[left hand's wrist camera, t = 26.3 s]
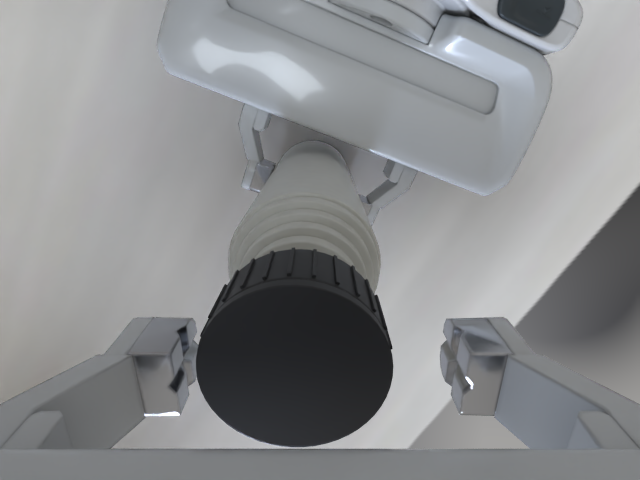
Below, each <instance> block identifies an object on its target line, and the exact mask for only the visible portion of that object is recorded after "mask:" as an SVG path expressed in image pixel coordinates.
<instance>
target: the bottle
mask: <svg viewBox="0 0 640 480" xmlns="http://www.w3.org/2000/svg"><path fill="white" fill-rule="evenodd" d="M294 247H295V249H305V250H306V249H307V250H313V249H317V251H318V252H322V253H326V254H328V255H331V256H334V255H336V256H337V258H338V259H340V260H342V261H344V262H345V263H347V264H348V265H350V266H352V265H353V266H354V267H355V270H356V271H357V272H358V273H359V274H361V276H362V277H363V278H364V279H365V280H366V279H368V281H369V284H370V287H371V289H372V291H373V293H375V290H376V287H377V283H378V279H379V274H380V265H381V262H380V251H379V246H378V243H377V240H376V237H375V235H374V232H373V230H372V227H371V225H370V222H369V220H368V217H367V215H366V212H365V210H364V207H363V205H362V202H361V200H360V197H359V195H358V192H357V190H356V187H355V185H354V182H353V180H352V177H351V175H350V172H349V170H348V167H347V165H346V162H345V160H344V158H343V157H342V155H341V154H340V153H339V152H338V151H337V150H336V149H335V148H334V147H332V146H331V145H329V144H327V143H324V142H321V141H305V142H301V143H298V144H296V145H294V146H293V147H291V148H290V149H289V150H288V151H287V152H286V153H285V154H284V155H283V157H282V158H281V160H280V161H279V163H278V165H277V166H276V168H275V169H274V171H273V172H272V174H271V176H270V177H269V179H268V180H267V182H266V183H265V185H264V186H263V188H262V190H261V191H260V193H259V194H258V196H257V197H256V199H255V201H254V202H253V204H252V205H251V207H250V208H249V210H248V211H247V213H246V215H245V216H244V218H243V219H242V221H241V222H240V224H239V226H238V227H237V229H236V231H235V233H234V235H233V238H232V240H231V244H230V248H229V256H228V270H229V279H230V281H231V279H232V277H233V275H234V273H235V271H236V270H239V271H240V270H241V269H242V268H243V267H245V266H246V265H247V264H248V263H250V261H251V259H253V258H254V259H257V258H259V257H262V256H264V255H267V254H269V253H270V251H273V250H274V252H277V251H282V250H289V249H292V248H294Z"/></svg>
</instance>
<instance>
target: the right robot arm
mask: <svg viewBox="0 0 640 480" xmlns="http://www.w3.org/2000/svg"><path fill="white" fill-rule="evenodd" d="M582 18H583V10H582V7H581V4H580V3H579V1H578V0H168V2H167V5H166V8H165V12H164V15H163V19H162V23H161V26H160V30H159V34H158V39H157V51H158V54H159V56H160V58H161V61H162V63H163V65H164V67H165V70H166V71H167V72H168V73H169V74H171V75H173V76H176V77H178V78H181V79H183V80H186V81H189V82H191V83H194V84H196V85H199V86H201V87H204V88H207V89H209V90H212V91H214V92H217V93H219V94H222V95H225V96H227V97H230V98H232V99H235V100H237V101H240V102H243V103H244V106H243V109H242V113H241V116H240V120H239V123H238V124H239V129H240V133H241V137H242V141H243V145H244V149H245V153H246V157H247V159H249V161H248V164H247V168H246V171H245V174H244V177H243V181H242V185H241V187H243V188H245V189H248V190H251V191H254V192H257V193H260V191H261V190H262V188H263V186H264V185H265V183H266V182H267V180H268V179H269V177H270V176H271V174H272V172H273V171H274V169H275V166H276V163H273V162H271V161H268V160H266V159H264V155H263V150H262V145H261V140H260V135H259V131H260V132H261V131H263V130H265V129H266V128H267V127H268V125H269V122H270V119H271V116H272V114H274V115H276V116H279V117H281V118H284V119H286V120H289V121H292V122H294V123H297V124H299V125H302V126H304V127H307V128H310V129H312V130H315V131H317V132H320V133H322V134H325V135H328V136H330V137H333V138H335V139H338V140H340V141H343V142H346V143H348V144H351V145H353V146H356V147H358V148H361V149H364V150H366V151H369V152H371V153H374V154H376V155H379V156H382V157H384V158H387V159H388V161H387V164H386V166H385V168H384V171H383V172H384V174H385V176H386V177H387V178H388V180H386V181H385V182H384V183H383V184H381V185H380V186H379V187H378V188H376V189H375V190H374V191H373V192H371V193H370V194H369V195H368V196H367V197H365V196H363V195H360V194H358V195H359V197H360V200H361V202H362V205H363V207H364V210H365V212H366V215H367V217H368V220H369V222H370V225H371V227H372V224H373V222H374V220H375V218H376V216H377V213H378V211H379V209H380V208H381V209H382V208H384V207H385V206H386V205H388V204H389V203H390V202H392V201H393V200H395V199H396V198H397V197H399V196H400V195H402V194H403V193H404V192H406V191H407V190H409V188H410V186H411V184H412V182H413V180H414V178H415V176H416V174H417V172H418V171H420V172H423V173H425V174H428V175H431V176H433V177H436V178H438V179H441V180H443V181H446V182H449V183H451V184H454V185H456V186H459V187H461V188H464V189H467V190H469V191H472V192H474V193H477V194H480V195H482V196H487V195H489V194H492V193H494V192H495V191H497V190H499V189H501V188H502V187H504V186H505V185H507V184H508V182H509V181H510V180H511V178H512V177H513V175H514V174H515V172H516V170H517V168H518V166H519V165H520V163H521V161H522V159H523V157H524V155H525V153H526V151H527V149H528V147H529V145H530V143H531V141H532V139H533V137H534V135H535V133H536V130H537V128H538V126H539V124H540V121H541V119H542V117H543V114H544V112H545V109H546V107H547V104H548V101H549V98H550V94H551V89H552V72H551V68H550V65H549V63H548V62H547V60H546V59H545V57H544V56H543V55H547V54H550V53H553V52H557V51H559V50H562V49H563V48H565V47H566V46H567V45H568V44H569V43H570V41H571V40H572V38H573V37H574V35H575V33H576V32H577V29H578V28H579V26H580V24H581V21H582Z"/></svg>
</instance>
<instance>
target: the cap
mask: <svg viewBox="0 0 640 480" xmlns="http://www.w3.org/2000/svg"><path fill="white" fill-rule="evenodd" d="M208 318H209V319H208V321H207V323H206V325H205V327H204V329H203V331H202V333H201V335H200V337H201V339H200V342H199V345H198V349H197V355H196V373H197V379H198V383H199V386H200V389H201V391H202V394H203V396H204V398H205V400H206V401H207V403H208V404H209V406H210V407H211V409H212V410H213V411H214V412H215V413H216V414H217V415H218V416H219V418H221V419H222V420H223V421H224V422H225V423H226V424H227V425H229V426H230V427H232V428H233V429H235V430H236V431H238V432H240V433H242V434H243V435H245V436H247V437H250V438H252V439H255V440H257V441H260V442H264V443H267V444H271V445H277V446H284V447H309V446H317V445H321V444H326V443H329V442H333V441H336V440H339V439H341V438H343V437H345V436H347V435H349V434H351V433H353V432H354V431H356V430H358V429H359V428H360V427H362V426H363V425H364V424H366V423H367V422H368V421H369V420H370V419H371V418H372V417H373V416H374V415H375V414H376V412H377V411H378V410H379V408H380V407H381V406H382V404H383V402H384V400H385V399H386V397H387V394H388V392H389V389H390V386H391V381H392V377H393V359H392V353H391V349H392V344H391V341H390V337H389V334H388V331H387V326H386V323H385V319H384V316H383V312H382V309H381V305H380V302H379V299H378V296H377V295H374V293H373V291H372V289H371V287H370V284H369V281H368V279H366V280H365V279H364V278H363V277H362V276H361V274H359V273H358V272H357V271H356V270H355V267H354V266H353V265H352V266H350V265H348V264H347V263H345V262H344V261H342V260H340V259H338V258H337V256H336V255H334V256H331V255H328V254H326V253H322V252H318V251H317V249H313V250H307V249H306V250H305V249H295V247H294V248H292V249H289V250H282V251H277V252H274V250H273V251H270V253H269V254H267V255H264V256H262V257H259V258H257V259H254V258H253V259H251V261H250V263H248V264H247V265H246V266H245V267H243V268H242V269H241V270H240V271H239V270H236V271H235V273H234V275H233V277H232V279H231V281H230V282H229V283H228V285H226V284H225V285H224V287H223V289H222V291H221V293H220V295H219V297H218V299H217V301H216V302H215V304H214V306H213V308H212V310H211V312H210V314H209V316H208Z"/></svg>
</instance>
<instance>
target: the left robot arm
mask: <svg viewBox="0 0 640 480" xmlns="http://www.w3.org/2000/svg"><path fill="white" fill-rule="evenodd" d="M196 333H197V329H196V323H195V321H194V319H193V318H165V317H156V318H155V317H137V318H134V319H133V320H132V321H131V322H130V323H129V324H128V326H127V327H126V328H125V329H124V330H123V332H122V333H121V334H120V335H119V337H118V338H117V339H116V340H115V342H114V343H113V344H112V345H111V346H110V348H109V349H108V350H107V351H106V353H105V354H104V355H96V356H94V357H92V358H90V359H88V360H86V361H84V362H82V363H80V364H78V365H76V366H74V367H72V368H71V369H69V370H67V371H65V372H63V373H61V374H59V375H57V376H55V377H53V378H51V379H49V380H47V381H45V382H43V383H41V384H39V385H37V386H35V387H33V388H31V389H29V390H27V391H25V392H23V393H21V394H19V395H17V396H15V397H13V398H11V399H9V400H7V401H5V402H4V403H2V404H0V480H640V404H638V403H636V402H634V401H632V400H630V399H628V398H626V397H624V396H622V395H620V394H619V393H616V392H615V391H613V390H611V389H609V388H607V387H605V386H603V385H601V384H599V383H597V382H595V381H593V380H591V379H589V378H587V377H585V376H583V375H581V374H579V373H577V372H575V371H573V370H571V369H569V368H567V367H565V366H564V365H562V364H560V363H558V362H556V361H554V360H552V359H550V358H548V357H546V356H544V355H536V354H535V353H534V351H533V350H532V349H531V348H530V346H529V345H528V344H527V343H526V342H525V340H524V339H523V338H522V337H521V335H520V334H519V333H518V332H517V331H516V329H515V328H514V327H513V326H512V324H511V323H510V322H509V321H508V320H507V319H506V318H504V317H487V318H454V319H446V321H445V323H444V329H443V333H444V335H445V337H446V339H447V340H446V341H445V342H444V343H443V344H442V345H441V351H440V365H441V371H442V375H443V377H444V380H445V382H446V383H448V384H449V385H451V386H452V390H451V396H452V398H453V401H454V403H455V405H456V408H457V410H458V412H459V414H460V415H482V416H495V418H496V419H497V420H498V421H499V422H500V423H501V424H502V425H504V426H505V427H506V428H507V429H508V430H509V431H510V432H512V433H513V434H514V435H515V436H516V437H517V438H518V439H520V440H521V441H522V442H523V443H524V444H525V445H526V446H528V447H529V448H530V449H110V448H111V447H112V446H114V445H115V444H116V443H117V442H118V441H119V440H121V439H122V438H123V437H124V436H125V435H126V434H127V433H129V432H130V431H131V430H132V429H133V428H134V427H135V426H137V425H138V424H139V423H140V422H141V421H142V420H143V419H145V416H158V415H181V412H182V410H183V408H184V405H185V403H186V401H187V398H188V396H189V390H188V386H189V385H191V384H192V383H194V382H195V380H196V377H197V373H196V355H197V349H198V344H197V343H196V342H195V341H194V340H193V339H194V337H195V335H196Z"/></svg>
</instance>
